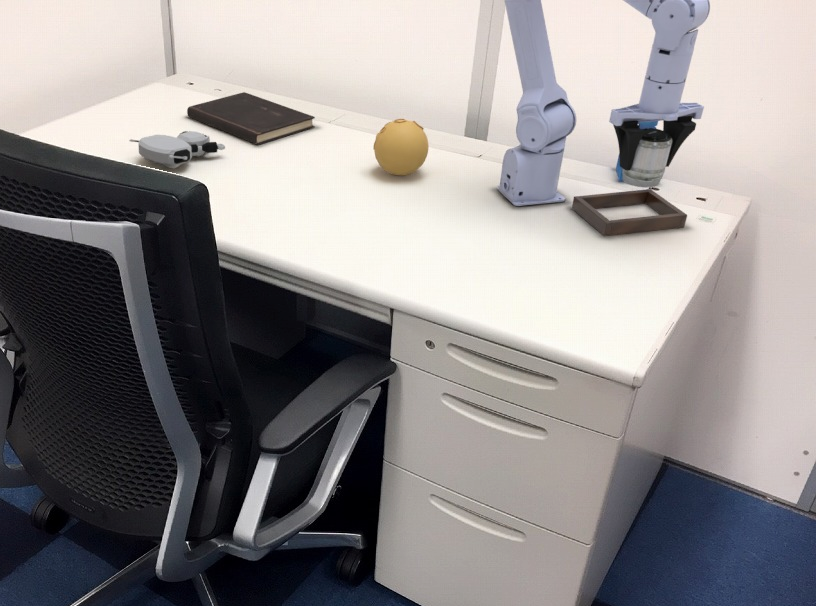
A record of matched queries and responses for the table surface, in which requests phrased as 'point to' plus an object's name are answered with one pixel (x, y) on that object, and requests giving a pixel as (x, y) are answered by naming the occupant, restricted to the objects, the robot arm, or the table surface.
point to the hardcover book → (251, 117)
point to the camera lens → (649, 159)
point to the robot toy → (176, 148)
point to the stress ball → (401, 147)
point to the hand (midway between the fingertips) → (643, 166)
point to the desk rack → (666, 220)
